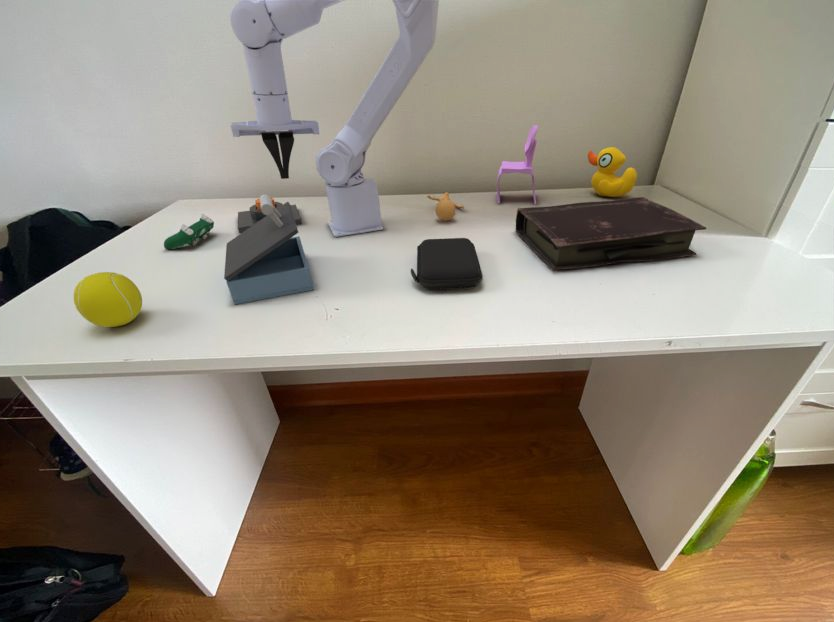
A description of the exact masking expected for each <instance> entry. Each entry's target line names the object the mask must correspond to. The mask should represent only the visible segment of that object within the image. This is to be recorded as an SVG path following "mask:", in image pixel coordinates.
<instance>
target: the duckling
mask: <svg viewBox="0 0 834 622" xmlns="http://www.w3.org/2000/svg"><path fill="white" fill-rule="evenodd" d="M597 154H598V155H597ZM597 154H595V153H594V152H593V150H589V151H588V153H587V161H588V162H589V164H590V165H592V166H593V167H594V166H595V167H597V169H598V170H597V171H596V172H595V173H594V174H593V175H592V177H591V187H592V189H593V190H594V191H595V193H596V194H597V195H599V196H601V197H607V198H617V197H623V196H625V195H627V194H629V193H630V192H631V191H632V190H633V188H634V187H635V184H636V181H637V178H638V174H637V171H636V169H635V168H634V167H628V168H626V170H625V171H624V173H623V174H622V176H617V175H616V174H615V172H617V171H618V170H619V169H621V168H620V167H622V166H623V165H624V164H625V162H626V160H627V157H626V155H625V154H624V153H622V151H621V150H620V149H619V148H617V147H614V146H610V147H606V148H603V149H602V150H600V151H599V153H597Z"/></svg>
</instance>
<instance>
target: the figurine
mask: <svg viewBox="0 0 834 622" xmlns="http://www.w3.org/2000/svg"><path fill="white" fill-rule="evenodd" d="M426 198H428V199H430V200H431V201H437V202H438V203H436V206H435V214H436V216H437V218H438V219H439V220H441V221H444V222H445V221H446V222H447V221H450V220H452V219H453V218H454V217H455V214H456V208H459V209H464V210H465V207H464V206H463V205H459V204H457V203H455V202H453V200H452V199H451V198H450V195H449V192H448V191H446V192H444V194H443V195H442V196H439V197H436V196H430V195H427V196H426Z"/></svg>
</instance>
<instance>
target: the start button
mask: <svg viewBox="0 0 834 622" xmlns="http://www.w3.org/2000/svg"><path fill="white" fill-rule="evenodd" d="M271 200H272V205H273V206H274V207H276V206H275V202H276V201H275V199H274V197H271ZM254 202H255V204H256V206H257V210H261V205H260V197H259V198H256V199H255V201H254Z"/></svg>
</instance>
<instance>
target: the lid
mask: <svg viewBox="0 0 834 622" xmlns="http://www.w3.org/2000/svg"><path fill="white" fill-rule="evenodd" d="M259 198H260V205H261V211H262V213H263V214H264V215H267V216H266V217H264V218H263V219H261V220H260V221H259V222H257V223H256V224H254V225H253V226H251V227H250V228H248V229H247V230H245V231H244V232H242V233H239V234H238V235H236V236H235V237H234V238H232V239H231V240H229V241H228V242H226V245H225V247H226V248H225V262H224V275H223V276H224V277H223V279H224V280H225V281H226V282H227V281H228V280H230V279H231V278H233V277H234V276H236V275H237V274H239V273H240V272H242V271H243V270H245V269H246V268H247V267H249V266H250V265H252V264H253V263H255V262H256V261H258V260H259V259H261V258H262V257H264V256H265V255H267V254H268V253H269V252H271V251H272V250H274V249H275V248H277V247H278V246H280V245H281V244H283V243H284V242H286V241H287V240H288V239H290V238H291V237H295V236H296V235H297V234H299V230H298V229H299V228H298V225H296V222H295V219H294V216H293V212H292V209H291V206H290V205H291V203H290V202H289V201H286V202H285V203H284V204H283V203H282V204H283V205H282V206H280V207H279V208H277V209H276V208H275V207H274V206H273V205H272V200H271V198H272V196H270V195H269V194H266V193H263V194H261V195H260V197H259Z"/></svg>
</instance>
